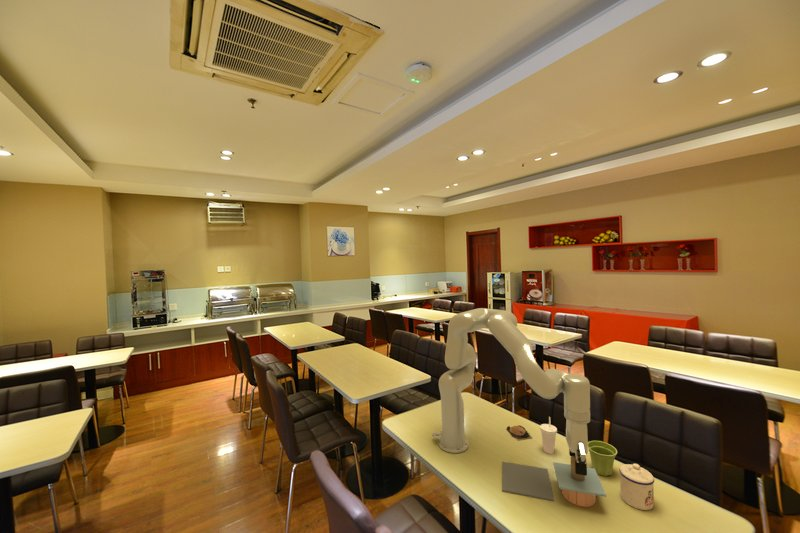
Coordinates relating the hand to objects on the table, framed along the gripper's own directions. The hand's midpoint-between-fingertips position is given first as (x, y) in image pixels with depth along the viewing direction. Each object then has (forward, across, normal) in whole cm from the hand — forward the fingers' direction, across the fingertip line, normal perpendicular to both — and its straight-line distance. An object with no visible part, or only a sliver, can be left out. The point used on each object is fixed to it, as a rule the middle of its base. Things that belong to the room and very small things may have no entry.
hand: (577, 464), depth 106 cm
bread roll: (+11, -35, -17) cm, 40 cm away
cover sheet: (+5, 0, 0) cm, 5 cm away
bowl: (+10, 0, 0) cm, 10 cm away
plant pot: (+10, -16, +11) cm, 22 cm away
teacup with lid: (+10, -4, +18) cm, 21 cm away
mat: (+10, -3, -16) cm, 19 cm away
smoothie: (+10, -24, -6) cm, 27 cm away
